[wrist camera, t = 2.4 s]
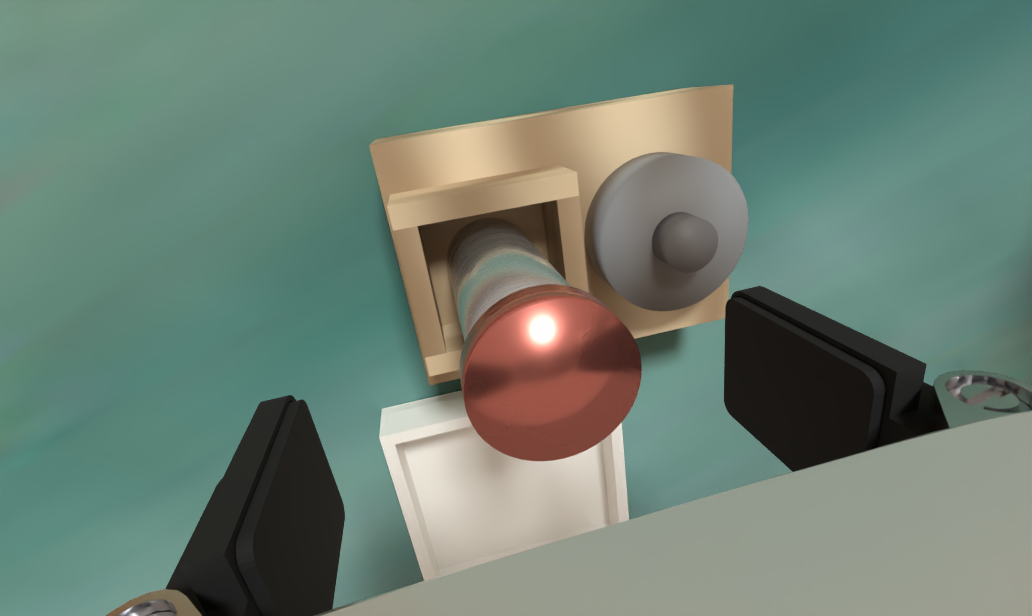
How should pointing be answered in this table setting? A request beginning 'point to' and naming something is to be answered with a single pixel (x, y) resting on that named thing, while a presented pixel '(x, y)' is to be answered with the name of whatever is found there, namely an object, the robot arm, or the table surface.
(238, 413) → the table surface
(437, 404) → the tray
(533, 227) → the wooden base with socket
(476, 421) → the pin
